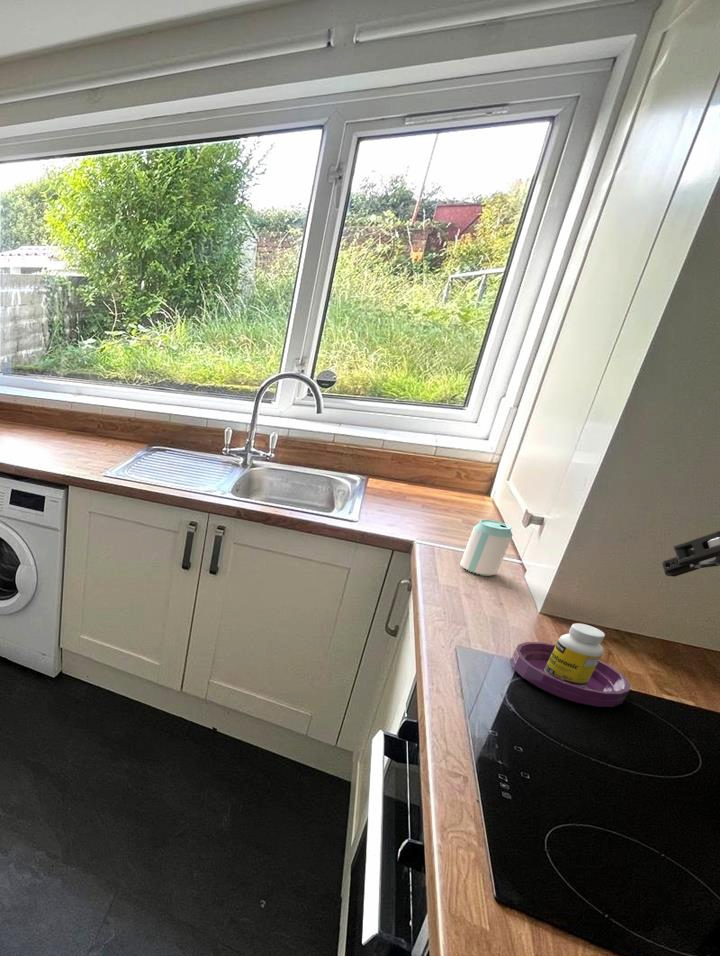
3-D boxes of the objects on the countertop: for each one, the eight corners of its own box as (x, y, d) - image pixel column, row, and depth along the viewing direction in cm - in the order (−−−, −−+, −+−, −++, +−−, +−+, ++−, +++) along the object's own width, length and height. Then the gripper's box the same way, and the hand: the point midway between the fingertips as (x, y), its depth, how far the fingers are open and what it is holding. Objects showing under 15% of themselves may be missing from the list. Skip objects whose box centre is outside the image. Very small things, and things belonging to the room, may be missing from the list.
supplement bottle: (534, 669, 100) (557, 621, 97) (562, 668, 101) (586, 620, 97) (565, 689, 95) (591, 639, 92) (594, 688, 96) (621, 638, 92)
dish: (640, 698, 95) (649, 682, 94) (589, 718, 90) (598, 702, 89) (540, 650, 107) (547, 635, 106) (490, 665, 102) (497, 650, 101)
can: (469, 562, 142) (486, 516, 138) (502, 574, 136) (521, 527, 132) (453, 567, 139) (470, 520, 135) (486, 579, 133) (505, 532, 129)
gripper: (919, 501, 63) (757, 552, 78) (763, 489, 65) (634, 541, 80) (950, 566, 60) (776, 606, 75) (786, 551, 63) (649, 593, 77)
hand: (703, 573), depth 78 cm, fingers open, 8 cm apart
